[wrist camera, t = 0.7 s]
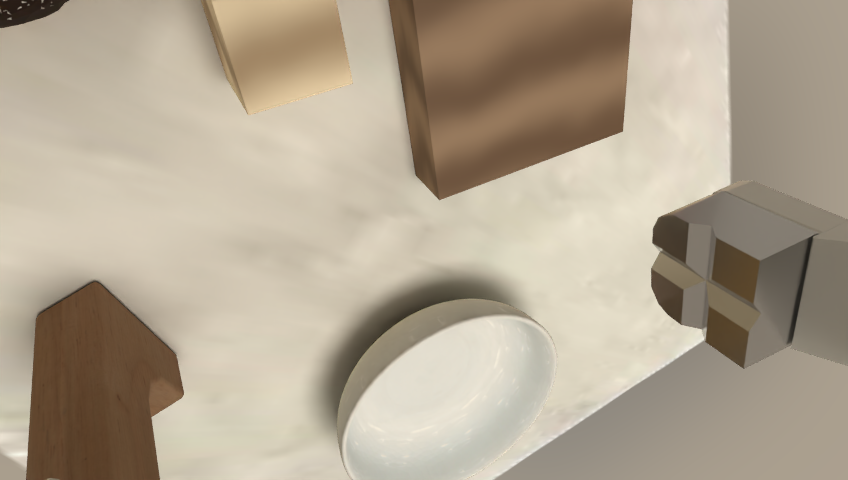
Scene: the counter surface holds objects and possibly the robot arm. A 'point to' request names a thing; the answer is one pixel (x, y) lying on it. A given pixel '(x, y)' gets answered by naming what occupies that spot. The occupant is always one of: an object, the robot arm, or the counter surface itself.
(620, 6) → the plinth
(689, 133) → the counter surface
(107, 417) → the wooden block
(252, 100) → the beech cube
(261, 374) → the counter surface
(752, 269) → the robot arm
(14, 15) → the donut
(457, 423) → the serving bowl
